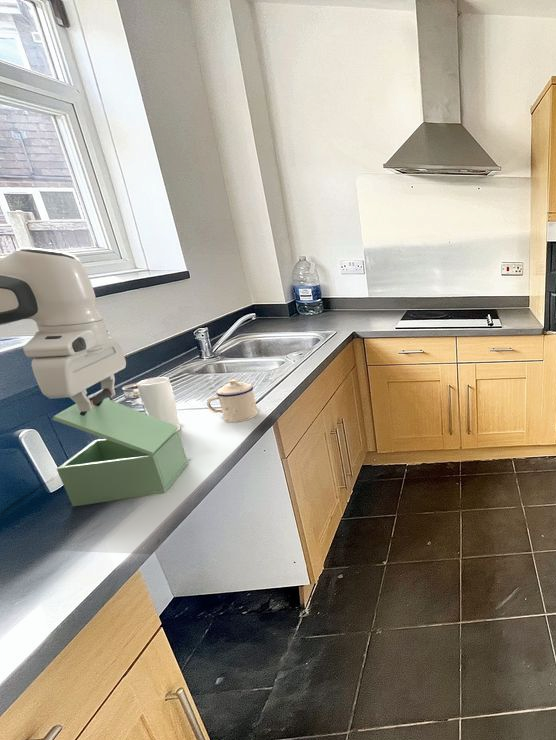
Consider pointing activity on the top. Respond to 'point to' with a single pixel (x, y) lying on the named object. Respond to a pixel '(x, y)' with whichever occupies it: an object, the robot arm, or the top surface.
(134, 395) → the wineglass
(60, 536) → the top surface
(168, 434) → the box lid
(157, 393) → the white vase
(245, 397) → the teacup with lid
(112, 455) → the storage box
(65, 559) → the top surface
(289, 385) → the top surface
